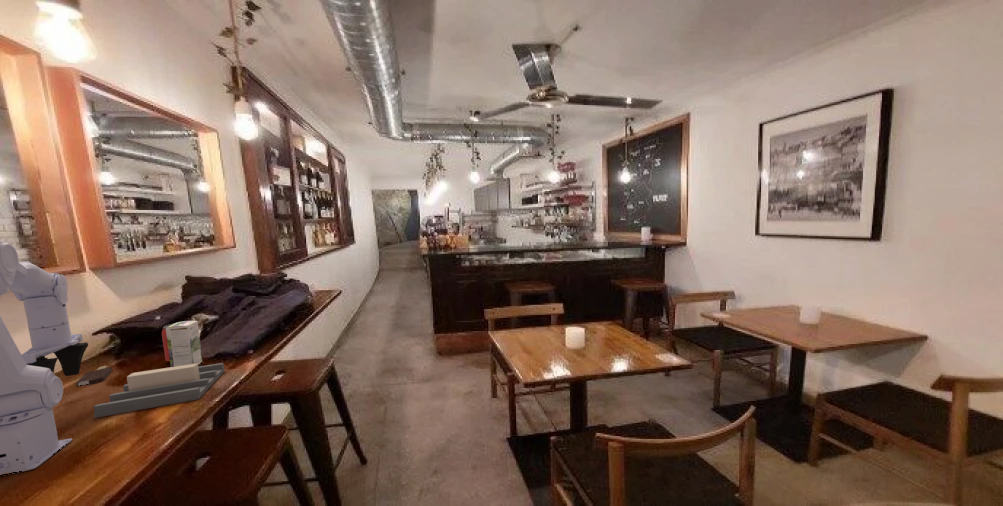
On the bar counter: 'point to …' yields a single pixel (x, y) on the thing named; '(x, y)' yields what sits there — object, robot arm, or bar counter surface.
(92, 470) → the bar counter surface
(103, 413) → the drying rack
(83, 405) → the bar counter surface
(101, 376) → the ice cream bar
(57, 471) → the bar counter surface
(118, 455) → the bar counter surface
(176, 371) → the clay strip
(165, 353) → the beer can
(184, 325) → the syrup box
